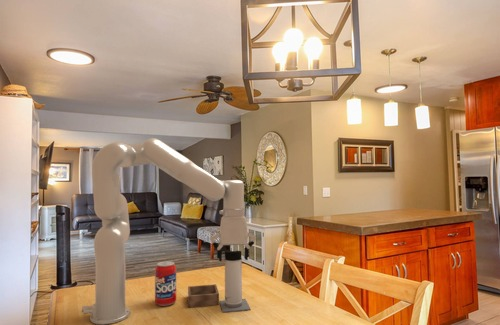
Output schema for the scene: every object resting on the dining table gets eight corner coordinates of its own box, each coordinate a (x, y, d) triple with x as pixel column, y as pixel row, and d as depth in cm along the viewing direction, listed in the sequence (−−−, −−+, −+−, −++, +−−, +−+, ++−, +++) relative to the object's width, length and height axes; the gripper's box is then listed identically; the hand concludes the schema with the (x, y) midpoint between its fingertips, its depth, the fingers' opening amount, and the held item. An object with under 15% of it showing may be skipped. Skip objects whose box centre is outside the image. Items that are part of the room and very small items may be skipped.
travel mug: (224, 308, 117) (223, 252, 118) (225, 301, 124) (225, 247, 125) (241, 308, 117) (241, 251, 118) (242, 301, 124) (241, 247, 125)
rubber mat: (222, 312, 115) (222, 311, 115) (219, 302, 125) (219, 300, 125) (250, 310, 117) (250, 308, 117) (245, 299, 127) (245, 298, 127)
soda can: (172, 297, 129) (172, 259, 130) (179, 304, 123) (179, 263, 123) (152, 302, 125) (152, 262, 126) (158, 309, 119) (158, 267, 119)
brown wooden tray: (188, 307, 120) (188, 296, 120) (188, 296, 131) (188, 286, 131) (219, 304, 122) (219, 293, 122) (216, 294, 133) (216, 284, 133)
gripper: (211, 214, 117) (210, 263, 116) (258, 214, 120) (258, 261, 119) (209, 212, 124) (208, 258, 123) (254, 211, 127) (253, 256, 127)
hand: (233, 259), depth 121 cm, fingers open, 9 cm apart
